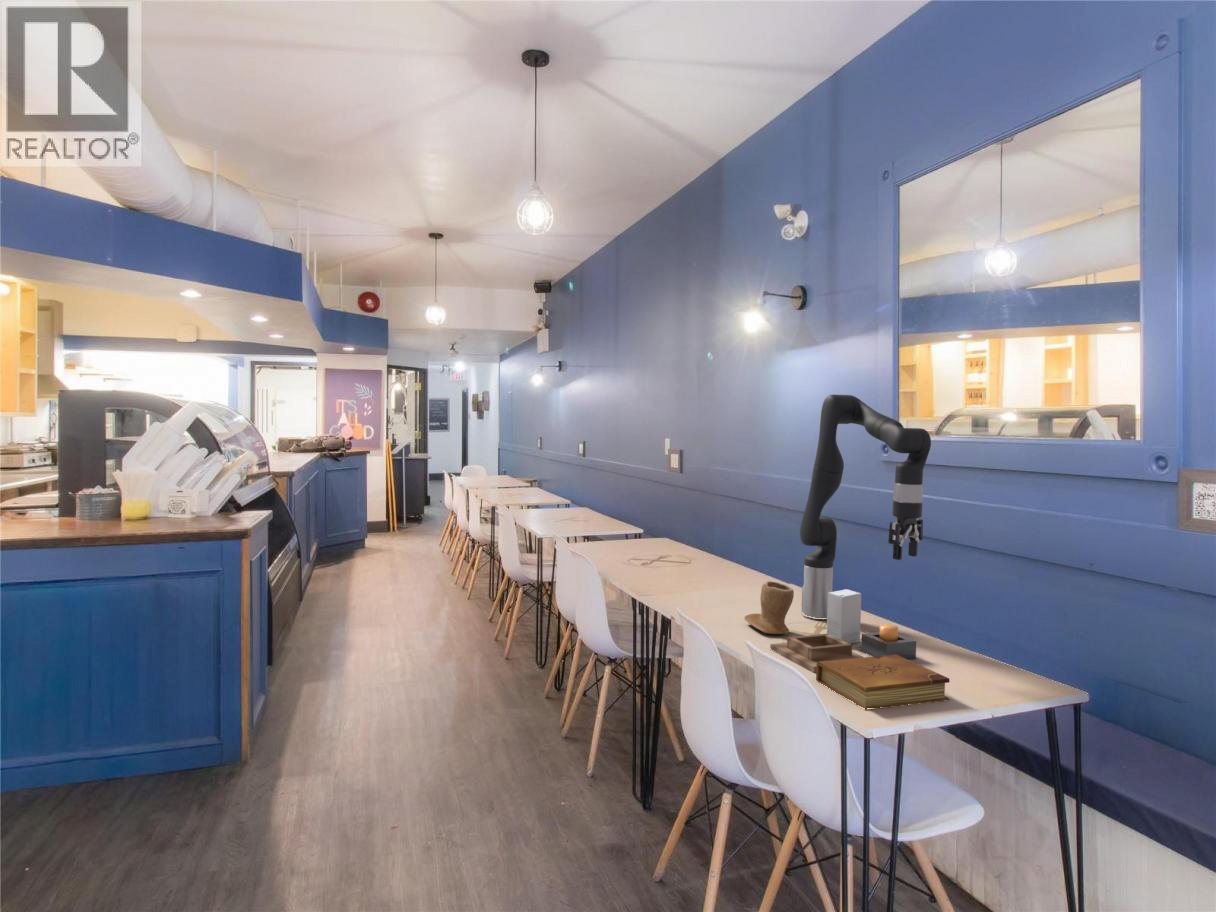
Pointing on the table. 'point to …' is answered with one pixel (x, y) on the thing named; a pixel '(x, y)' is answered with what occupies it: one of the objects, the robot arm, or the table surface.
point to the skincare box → (844, 615)
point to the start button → (888, 632)
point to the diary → (882, 681)
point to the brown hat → (772, 608)
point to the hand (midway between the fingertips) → (904, 557)
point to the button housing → (888, 646)
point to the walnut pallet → (814, 650)
